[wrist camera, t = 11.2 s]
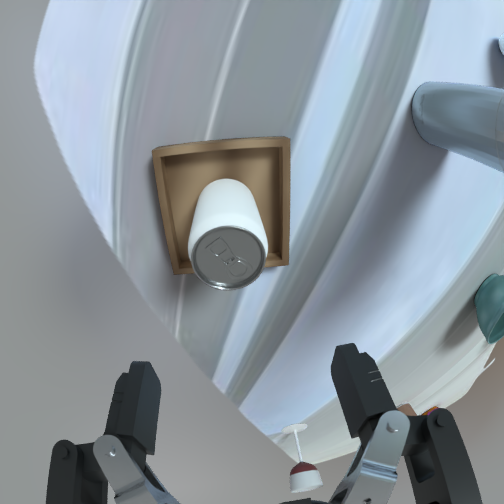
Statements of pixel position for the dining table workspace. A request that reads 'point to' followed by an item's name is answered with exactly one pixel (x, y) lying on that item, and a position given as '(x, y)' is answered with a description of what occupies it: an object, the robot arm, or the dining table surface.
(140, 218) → the dining table surface
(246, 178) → the tray
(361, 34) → the dining table surface
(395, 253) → the dining table surface
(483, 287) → the teal green bowl
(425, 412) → the donut
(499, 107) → the robot arm
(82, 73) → the dining table surface
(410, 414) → the coffee cup
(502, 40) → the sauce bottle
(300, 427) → the wineglass
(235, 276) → the can
